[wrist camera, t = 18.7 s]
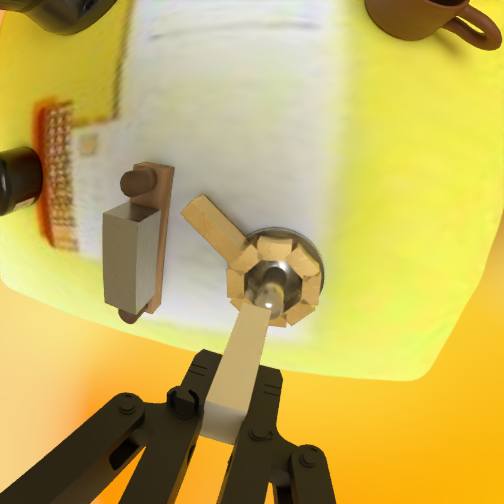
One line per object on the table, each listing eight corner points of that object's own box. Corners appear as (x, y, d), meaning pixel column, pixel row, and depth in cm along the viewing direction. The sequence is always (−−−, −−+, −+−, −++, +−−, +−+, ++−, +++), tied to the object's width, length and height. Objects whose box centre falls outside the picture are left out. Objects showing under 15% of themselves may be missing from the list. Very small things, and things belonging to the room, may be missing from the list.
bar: (154, 294, 32) (135, 315, 28) (125, 283, 33) (104, 302, 29) (161, 209, 28) (138, 222, 24) (128, 201, 29) (102, 213, 25)
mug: (474, 40, 18) (521, 18, 9) (450, 85, 21) (500, 71, 12) (381, -28, 17) (401, -74, 8) (350, 13, 20) (365, -33, 12)
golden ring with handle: (272, 329, 33) (268, 346, 30) (171, 229, 30) (157, 239, 27) (337, 283, 29) (339, 299, 26) (228, 167, 27) (219, 171, 24)
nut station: (223, 299, 34) (204, 335, 28) (239, 216, 30) (220, 239, 24) (307, 322, 33) (305, 363, 27) (336, 242, 29) (343, 272, 23)
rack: (137, 295, 36) (114, 318, 31) (145, 162, 30) (116, 168, 24) (160, 303, 36) (140, 328, 31) (174, 167, 29) (148, 174, 24)
